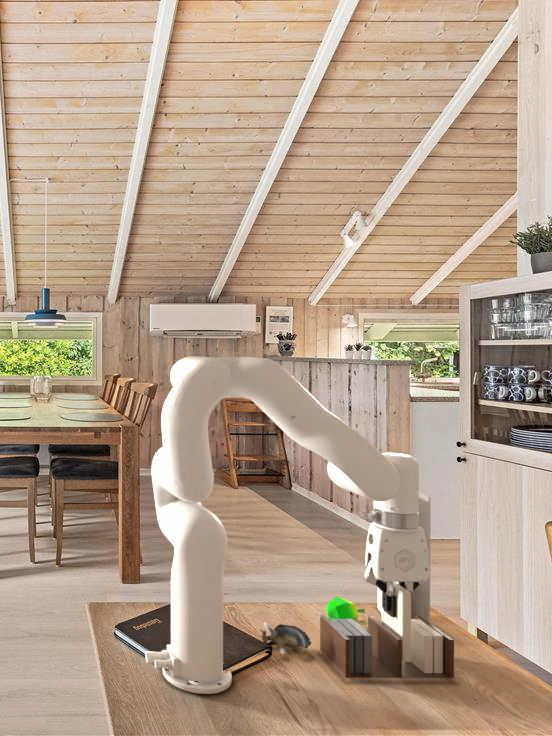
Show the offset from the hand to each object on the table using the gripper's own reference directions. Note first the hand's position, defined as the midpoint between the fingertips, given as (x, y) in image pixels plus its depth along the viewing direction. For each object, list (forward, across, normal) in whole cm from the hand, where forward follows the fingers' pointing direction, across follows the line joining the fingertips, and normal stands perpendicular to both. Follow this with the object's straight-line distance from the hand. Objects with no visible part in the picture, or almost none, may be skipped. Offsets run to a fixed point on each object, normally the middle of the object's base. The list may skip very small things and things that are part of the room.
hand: (395, 613), depth 120 cm
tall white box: (+11, +13, +19) cm, 25 cm away
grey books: (+10, -9, 0) cm, 13 cm away
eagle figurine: (+11, -19, +5) cm, 23 cm away
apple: (+11, 0, +18) cm, 21 cm away
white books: (+10, +5, 0) cm, 11 cm away
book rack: (+11, -2, 0) cm, 11 cm away
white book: (+8, 0, 0) cm, 8 cm away
